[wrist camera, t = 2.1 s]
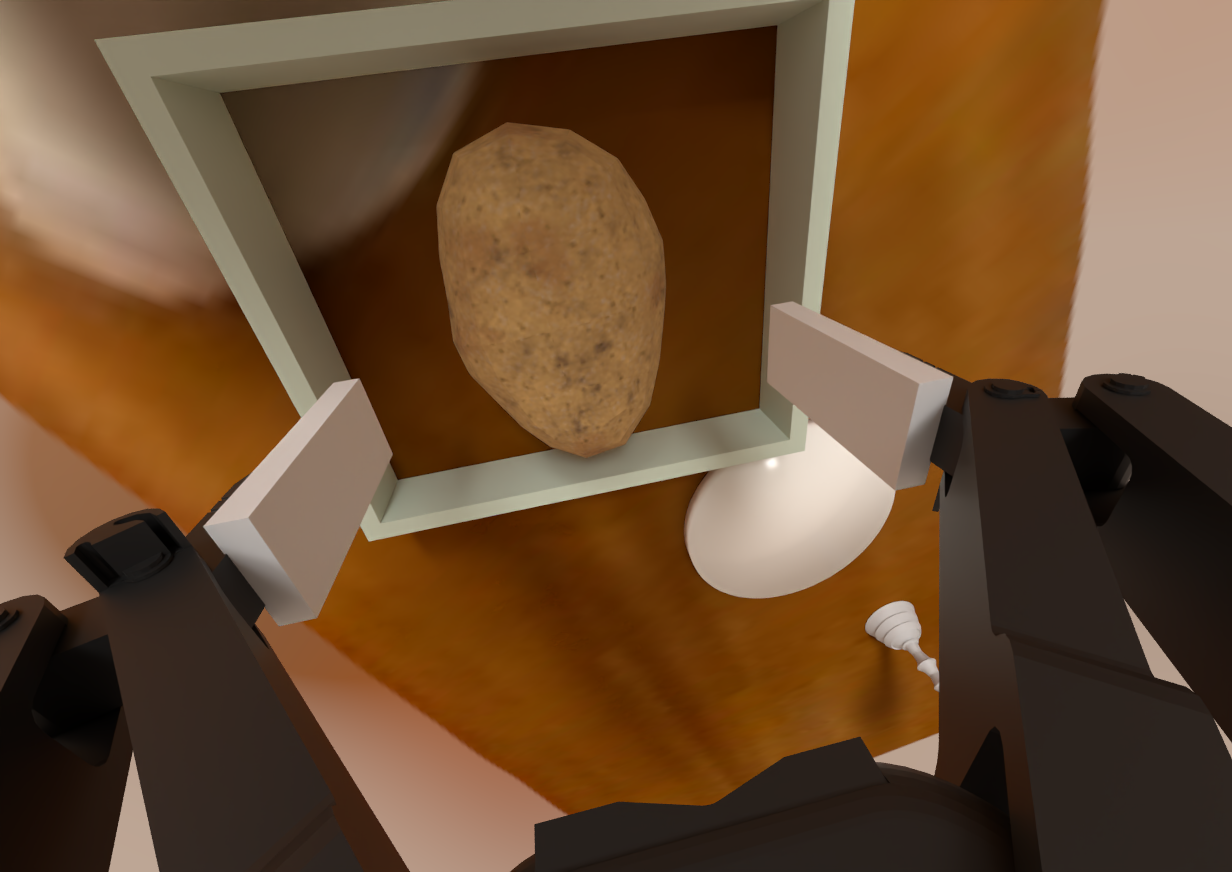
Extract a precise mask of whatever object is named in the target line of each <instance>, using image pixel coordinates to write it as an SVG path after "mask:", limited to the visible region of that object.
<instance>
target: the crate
mask: <svg viewBox="0 0 1232 872" xmlns="http://www.w3.org/2000/svg"><path fill="white" fill-rule="evenodd" d="M854 3H855V0H450V1H441V2H432V3H423V4H413V5H404V6H395V7H386V8H377V9H368V10H359V11H349V12H340V13H331V14H322V15H313V16H304V17H295V18H285V19H276V20H267V21H258V22H249V23H240V24H231V25H222V26H212V27H203V28H194V29H185V30H176V31H167V32H158V33H148V34H139V35H130V36H121V37H112V38H103V39H94V41H95V42H96V44H97V46H98V48H99V50H100V51H101V53H102V55H103V57H104V59H105V61H106V62H107V64H108V66H109V68H110V70H111V72H112V73H113V75H114V77H115V79H116V81H117V82H118V84H119V86H120V88H121V90H122V92H123V93H124V95H125V97H126V99H127V101H128V103H129V104H130V106H131V108H132V110H133V112H134V114H135V115H136V117H137V119H138V121H139V123H140V124H141V126H142V128H143V130H144V132H145V134H146V135H147V137H148V139H149V141H150V143H151V145H152V146H153V148H154V150H155V152H156V154H157V156H158V157H159V159H160V161H161V163H162V165H163V166H164V168H165V170H166V172H167V174H168V176H169V177H170V179H171V181H172V183H173V185H174V187H175V188H176V190H177V192H178V194H179V196H180V198H181V199H182V201H183V203H184V205H185V207H186V208H187V210H188V212H189V214H190V216H191V218H192V219H193V221H194V223H195V225H196V227H197V229H198V230H199V232H200V234H201V236H202V238H203V240H204V241H205V243H206V245H207V247H208V249H209V250H210V252H211V254H212V256H213V258H214V260H215V261H216V263H217V265H218V267H219V269H220V271H221V272H222V274H223V276H224V278H225V280H226V281H227V283H228V285H229V287H230V289H231V291H232V292H233V294H234V296H235V298H236V300H237V302H238V303H239V305H240V307H241V309H242V311H243V313H244V314H245V316H246V318H247V320H248V322H249V323H250V325H251V327H252V329H253V331H254V333H255V334H256V336H257V338H258V340H259V342H260V344H261V345H262V347H263V349H264V351H265V353H266V355H267V356H268V358H269V360H270V362H271V364H272V365H273V367H274V369H275V371H276V373H277V375H278V376H279V378H280V380H281V382H282V384H283V386H284V387H285V389H286V391H287V393H288V395H289V397H290V398H291V400H292V402H293V404H294V406H295V407H296V409H297V411H298V413H299V415H300V417H301V418H302V417H303V416H304V415H305V414H306V412H307V411H308V410H309V409H310V408H311V407H312V406H313V405H314V404H315V403H316V401H317V400H318V399H319V398H320V397H321V396H322V395H323V394H324V393H325V392H326V390H327V389H328V388H329V387H330V386H331V385H332V384H333V383H335V382H341V381H347V380H351V377H350V375H349V373H348V371H347V369H346V367H345V364H344V362H343V360H342V358H341V356H340V353H339V351H338V349H337V347H336V345H335V343H334V340H333V338H332V336H331V334H330V332H329V330H328V327H327V325H326V323H325V321H324V319H323V316H322V314H321V312H320V310H319V308H318V306H317V303H316V301H315V299H314V297H313V295H312V293H311V290H310V288H309V286H308V284H307V282H306V279H305V277H304V275H303V273H302V271H301V269H300V266H299V264H298V262H297V260H296V258H295V256H294V253H293V251H292V249H291V247H290V245H289V242H288V240H287V238H286V236H285V234H284V232H283V229H282V227H281V225H280V223H279V221H278V219H277V216H276V214H275V212H274V210H273V208H272V205H271V203H270V201H269V199H268V197H267V195H266V192H265V190H264V188H263V186H262V184H261V182H260V179H259V177H258V175H257V173H256V171H255V168H254V166H253V164H252V162H251V160H250V158H249V155H248V153H247V151H246V149H245V147H244V145H243V142H242V140H241V138H240V136H239V134H238V131H237V129H236V127H235V125H234V123H233V121H232V118H231V116H230V114H229V112H228V110H227V108H226V105H225V103H224V101H223V99H222V97H221V94H220V93H223V92H232V91H240V90H248V89H256V88H265V87H273V86H281V85H289V84H297V83H306V82H314V81H322V80H330V79H339V78H347V77H355V76H363V75H371V74H380V73H388V72H396V71H404V70H413V69H421V68H429V67H437V66H446V65H454V64H462V63H470V62H478V61H487V60H495V59H503V58H511V57H520V56H528V55H536V54H544V53H552V52H561V51H569V50H577V49H585V48H594V47H602V46H610V45H618V44H626V43H635V42H643V41H651V40H659V39H668V38H676V37H684V36H692V35H701V34H709V33H717V32H725V31H733V30H742V29H750V28H758V27H766V26H775V25H777V45H776V67H775V88H774V109H773V131H772V152H771V173H770V194H769V216H768V237H767V258H766V279H765V301H764V322H763V343H762V364H761V386H760V407H759V409H755V410H750V411H745V412H740V413H735V414H730V415H725V416H720V417H715V418H709V419H704V420H699V421H694V422H689V423H684V424H679V425H674V426H669V427H664V428H659V429H654V430H649V431H644V432H639V433H634V434H631V436H630V438H629V439H628V441H627V442H626V444H625V445H622V446H619V447H616V448H614V449H611V450H608V451H605V452H602V453H599V454H597V455H594V456H591V457H588V458H585V457H582V456H578V455H575V454H572V453H569V452H565V451H562V450H559V449H552V450H547V451H542V452H537V453H532V454H527V455H522V456H517V457H512V458H507V459H502V460H497V461H492V462H487V463H482V464H477V465H471V466H466V467H461V468H456V469H451V470H446V471H441V472H436V473H431V474H426V475H421V476H416V477H411V478H406V479H401V480H397V477H396V475H395V473H394V471H393V469H392V467H391V464H390V462H389V464H388V466H387V468H386V470H385V472H384V474H383V477H382V479H381V481H380V483H379V485H378V487H377V490H376V492H375V494H374V496H373V498H372V500H371V503H370V505H369V507H368V509H367V511H366V513H365V515H364V518H363V520H362V522H361V524H360V526H361V528H362V530H363V532H364V533H365V535H366V537H367V539H368V541H373V540H378V539H383V538H388V537H393V536H397V535H402V534H407V533H412V532H417V531H421V530H426V529H431V528H436V527H441V526H446V525H450V524H455V523H460V522H465V521H470V520H474V519H479V518H484V517H489V516H494V515H498V514H503V513H508V512H513V511H518V510H523V509H527V508H532V507H537V506H542V505H547V504H551V503H556V502H561V501H566V500H571V499H575V498H580V497H585V496H590V495H595V494H600V493H604V492H609V491H614V490H619V489H624V488H628V487H633V486H638V485H643V484H648V483H652V482H657V481H662V480H667V479H672V478H677V477H681V476H686V475H691V474H696V473H701V472H705V471H710V470H715V469H720V468H725V467H729V466H734V465H739V464H744V463H749V462H754V461H758V460H763V459H768V458H773V457H778V456H782V455H787V454H792V453H797V452H802V451H805V443H806V434H807V425H808V416H806V415H805V414H804V413H803V412H802V411H800V410H799V409H798V408H797V407H796V406H795V405H793V404H792V403H791V402H790V401H789V400H788V399H786V398H785V397H784V396H783V395H782V394H780V393H779V392H778V391H777V390H776V389H775V388H773V387H772V386H771V385H770V384H769V383H768V382H767V369H768V348H769V326H770V305H775V304H780V303H786V302H791V301H793V302H795V303H797V304H799V305H801V306H804V307H806V308H808V309H810V310H812V311H814V312H816V313H818V314H820V309H821V300H822V291H823V282H824V273H825V264H826V255H827V246H828V237H829V228H830V219H831V210H832V201H833V192H834V183H835V174H836V165H837V156H838V147H839V138H840V129H841V120H842V111H843V102H844V93H845V84H846V75H847V66H848V57H849V48H850V39H851V30H852V21H853V12H854Z"/></svg>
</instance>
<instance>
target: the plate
mask: <svg viewBox="0 0 1232 872" xmlns="http://www.w3.org/2000/svg"><path fill="white" fill-rule="evenodd" d="M894 496H895V490H894V489H892V488H891V487H890V486H889V485H888V484H886V483H885V482H884V481H883V480H882V479H881V478H879V477H878V476H877V475H876V474H875V473H874V472H872V471H871V470H870V469H869V468H868V467H866V466H865V465H864V464H863V463H862V462H861V461H859V460H858V459H857V458H856V457H855V456H853V455H852V454H851V453H850V452H849V451H848V450H846V449H845V448H844V447H843V446H842V445H841V444H839V443H838V442H837V441H836V440H835V439H833V438H832V437H831V436H830V435H829V434H828V433H826V432H825V431H824V430H823V429H822V428H821V427H819V426H818V425H817V424H816V423H815V422H813V421H812V420H811V419H808V425H807V434H806V443H805V451H802V452H797V453H792V454H787V455H782V456H778V457H773V458H768V459H763V460H758V461H754V462H749V463H744V464H739V465H734V466H729V467H725V468H720V469H715V470H710V471H709V472H708V473H707V475H706V476H705V477H704V478H703V480H702V481H701V483H700V484H699V486H698V487H697V489H696V491H695V493H694V495H693V497H692V499H691V500H690V503H689V506H688V509H687V512H686V517H685V522H684V538H685V545H686V547H687V550H688V553H689V556H690V558H691V560H692V563H693V565H694V567H695V568H696V570H697V572H698V573H699V575H700V576H701V577H702V578H703V579H704V580H705V581H706V582H707V583H708V584H710V585H711V586H712V587H714V588H716V589H718V590H719V591H722V592H724V593H727V594H729V595H734V596H738V597H745V598H769V597H777V596H782V595H787V594H790V593H794V592H797V591H800V590H803V589H806V588H808V587H811V586H813V585H815V584H817V583H819V582H821V581H823V580H825V579H827V578H829V577H830V576H832V575H834V574H835V573H837V572H838V571H840V570H841V569H843V568H844V567H845V566H847V565H848V564H849V563H850V562H852V561H853V560H854V559H855V558H856V557H857V556H859V555H860V554H861V553H862V552H863V551H864V550H865V549H866V548H867V546H868V545H869V544H870V543H871V542H872V541H873V539H874V538H875V537H876V535H877V534H878V533H879V531H880V530H881V528H882V526H883V525H884V523H885V521H886V519H887V517H888V515H889V513H890V510H891V507H892V504H893V501H894Z"/></svg>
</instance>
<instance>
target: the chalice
mask: <svg viewBox="0 0 1232 872" xmlns="http://www.w3.org/2000/svg"><path fill="white" fill-rule="evenodd" d="M865 630H866V632H867V633H868V634H870V635H872V636H874V637H876V639H877V640H879V641H880V642H882V643H884V644H885V645H886V646H888V647H890V648H893V649H897V650H899V649H903V650H908V651H909V652H910V653H911V654H912V655H913V656H914V658H915V659H916V661H917V663H918V668H917V669H918V670H919V671H922V672H925V673H926V674H927V675H928V676H930V677H931V679H932V681H933V683H934V689H935V690H936V691H938V692H939V671H938V669H937V667H936V660H935V659H933V658H929V657H928V656H927V655H926V654H924V653H923V652H922V651H921V649H920V647H919V646H918V642H919V641H918V639H919V638H920V636H921V626H920V624H919V623H918V618H917V615H916V614H915V610H914V607H913V605H912V604H911V603H909V602H906V601H898V602H893V603H890V604H887V605H885V606H883V607H882V608H880V609H878V610H877V611H876V612H874V613H873V614H872V615H871V617H870V618H869V619H868V621H867V623H866V625H865Z"/></svg>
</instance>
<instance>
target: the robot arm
mask: <svg viewBox="0 0 1232 872" xmlns="http://www.w3.org/2000/svg"><path fill="white" fill-rule="evenodd" d="M767 382H768V383H769V384H770V385H771V386H772V387H773V388H775V389H776V390H777V391H778V392H779V393H780V394H782V395H783V396H784V397H785V398H786V399H788V400H789V401H790V402H791V403H792V404H793V405H795V406H796V407H797V408H798V409H799V410H800V411H802V412H803V413H804V414H805V415H806V416H808V417H809V418H810V419H811V420H812V421H813V422H815V423H816V424H817V425H818V426H819V427H821V428H822V429H823V430H824V431H825V432H826V433H828V434H829V435H830V436H831V437H832V438H833V439H835V440H836V441H837V442H838V443H839V444H841V445H842V446H843V447H844V448H845V449H846V450H848V451H849V452H850V453H851V454H852V455H853V456H855V457H856V458H857V459H858V460H859V461H861V462H862V463H863V464H864V465H865V466H866V467H868V468H869V469H870V470H871V471H872V472H874V473H875V474H876V475H877V476H878V477H879V478H881V479H882V480H883V481H884V482H885V483H886V484H888V485H889V486H890V487H891V488H892V489H894V490H900V489H904V488H909V487H913V486H918V485H922V484H925V481H926V478H927V474H928V470H929V466H930V463H931V462H932V463H934V464H935V465H937V466H938V467H939V468H941V469H942V470H944V472H943V475H942V479H941V482H940V486H939V489H938V493H937V496H936V500H935V503H934V507H933V510H932V511H937V512H938V511H939V509H940V567H939V750H938V759H937V765H936V770H935V775H934V776H933V775H931V774H928V773H925V772H922V771H918V770H915V769H911V768H908V767H905V766H898V765H893V764H888V763H881V762H875V761H874V759H873V757H872V756H871V754H870V752H869V751H868V749H867V747H866V746H865V744H864V742H863V741H862V739H861V737H857V738H853V739H850V740H846V741H842V742H839V743H835V744H831V745H827V746H824V747H820V748H816V749H813V750H809V751H805V752H801V753H798V754H794V755H790V756H787V757H784V758H782V759H781V760H779V761H778V762H776V763H775V764H773V765H772V766H770V767H769V768H767V769H766V770H764V771H763V772H761V773H760V774H758V775H757V776H755V777H754V778H752V779H751V780H749V781H748V782H746V783H745V784H743V785H742V786H740V787H739V788H737V789H736V790H734V791H733V792H731V793H730V794H728V795H727V796H725V797H724V798H722V799H721V800H719V801H718V802H716V803H714V804H711V805H706V806H695V805H674V804H653V803H631V802H616V803H612V804H608V805H605V806H601V807H597V808H594V809H590V810H586V811H582V812H579V813H575V814H571V815H568V816H564V817H560V818H557V819H553V820H549V821H545V822H542V823H538V824H535V854H534V855H532V856H531V857H529V858H527V859H526V860H524V861H523V862H521V863H520V864H519V865H518V866H517V867H515V868H514V869H513V870H512V871H511V872H1232V759H1231V756H1230V754H1229V752H1228V750H1227V748H1226V745H1225V743H1224V741H1223V739H1222V736H1221V734H1220V732H1219V730H1218V727H1217V725H1216V723H1215V721H1216V722H1217V724H1218V725H1219V726H1220V727H1221V729H1222V730H1223V731H1224V733H1225V734H1226V735H1227V737H1228V738H1229V739H1230V741H1231V742H1232V427H1230V426H1229V425H1227V424H1225V423H1224V422H1222V421H1221V420H1219V419H1218V418H1216V417H1215V416H1213V415H1211V414H1210V413H1208V412H1206V411H1205V410H1204V409H1202V408H1201V407H1199V406H1197V405H1196V404H1194V403H1192V402H1191V401H1190V400H1188V399H1186V398H1185V397H1183V396H1182V395H1180V394H1178V393H1177V392H1175V391H1174V390H1172V389H1171V388H1169V387H1167V386H1165V385H1163V384H1160V383H1158V382H1155V381H1152V380H1148V379H1145V377H1142V376H1138V375H1131V374H1124V373H1119V374H1097V375H1091V376H1088V377H1085V378H1084V379H1083V381H1082V382H1081V385H1080V387H1079V389H1078V392H1077V394H1076V396H1075V397H1074V398H1048V397H1047V395H1046V394H1045V393H1044V392H1043V391H1042V390H1041V389H1039V388H1037V387H1035V386H1033V385H1030V384H1026V383H1023V382H1019V381H1014V380H1009V379H984V380H977V381H975V382H973V383H971V382H968V381H966V380H964V379H962V378H960V377H958V376H956V375H953V374H951V373H949V372H947V371H945V370H943V369H940V368H935V366H934V365H932V364H930V363H928V362H923V360H921V359H919V358H917V357H915V356H912V355H910V354H908V353H905V352H900V351H897V350H895V349H893V348H891V347H889V346H887V345H884V344H882V343H880V342H878V341H876V340H874V339H872V338H870V337H867V336H865V335H863V334H861V333H859V332H857V331H855V330H853V329H850V328H848V327H846V326H844V325H842V324H840V323H838V322H835V321H833V320H831V319H829V318H827V317H825V316H823V315H821V314H818V313H816V312H814V311H812V310H810V309H808V308H806V307H804V306H801V305H799V304H797V303H795V302H793V301H791V302H786V303H780V304H775V305H770V326H769V348H768V369H767ZM392 455H393V453H392V451H391V449H390V446H389V444H388V442H387V440H386V437H385V435H384V433H383V431H382V428H381V426H380V424H379V421H378V419H377V417H376V415H375V412H374V410H373V408H372V406H371V403H370V401H369V399H368V397H367V394H366V392H365V390H364V387H363V385H362V383H361V381H360V378H358V379H352V380H347V381H341V382H335V383H333V384H332V385H331V386H330V387H329V388H328V389H327V390H326V392H325V393H324V394H323V395H322V396H321V397H320V398H319V399H318V400H317V401H316V403H315V404H314V405H313V406H312V407H311V408H310V409H309V410H308V411H307V412H306V414H305V415H304V416H303V417H302V418H301V419H300V420H299V421H298V422H297V424H296V425H295V426H294V427H293V428H292V429H291V430H290V431H289V432H288V433H287V435H286V436H285V437H284V438H283V439H282V440H281V441H280V442H279V443H278V444H277V446H276V447H275V448H274V449H273V450H272V451H271V452H270V453H269V454H268V455H267V457H266V458H265V459H264V460H263V461H262V462H261V463H260V464H259V465H258V467H257V468H256V469H255V470H254V471H253V472H252V473H250V474H249V475H247V476H246V477H244V478H243V479H242V480H240V481H239V482H237V483H236V484H234V485H233V486H232V487H231V489H230V490H229V491H228V492H227V493H226V494H225V495H224V496H223V497H222V498H221V499H222V501H218V503H217V504H216V505H215V506H214V507H213V508H212V509H211V512H210V513H207V514H206V515H205V517H204V518H203V519H202V520H201V521H200V522H199V523H198V524H197V525H196V526H195V527H194V528H193V529H192V531H191V532H190V533H189V534H188V535H187V536H186V537H185V536H184V535H183V533H182V532H181V531H180V530H179V528H178V527H177V526H176V525H175V523H174V522H173V521H172V520H171V518H170V517H169V516H168V515H167V513H166V512H165V511H163V510H161V509H145V510H141V511H137V512H133V513H129V514H127V515H124V516H122V517H119V518H116V519H114V520H111V521H109V522H107V523H105V524H103V525H101V526H99V527H97V528H95V529H93V530H92V531H90V532H89V533H87V534H86V535H84V536H83V537H81V538H80V539H78V540H77V541H76V542H75V543H74V544H73V545H72V546H71V547H70V548H68V549H67V551H66V553H65V556H64V558H65V560H66V561H67V562H68V563H69V564H70V565H71V566H72V567H73V568H74V569H76V571H77V572H78V573H79V574H80V575H81V576H83V577H84V578H85V579H86V580H87V581H88V582H89V583H90V584H91V585H92V586H93V587H94V588H95V589H96V590H97V591H98V592H99V595H100V596H99V597H97V598H94V599H91V600H89V601H86V602H83V603H81V604H78V605H75V606H73V607H70V608H67V609H65V610H62V611H59V610H58V609H57V608H56V607H55V606H53V605H52V604H51V603H50V602H49V601H48V600H47V599H45V597H42V596H40V595H30V596H22V597H19V598H17V599H13V600H10V601H7V602H4V603H2V604H0V872H108V871H109V867H110V861H111V856H112V852H113V847H114V842H115V837H116V832H117V827H118V821H119V817H120V812H121V807H122V802H123V797H124V792H125V786H126V782H127V776H128V772H129V767H130V761H131V757H132V752H134V757H135V761H136V766H137V771H138V775H139V780H140V784H141V789H142V794H143V798H144V803H145V807H146V812H147V817H148V821H149V826H150V830H151V835H152V839H153V844H154V849H155V854H156V858H157V862H158V867H159V871H160V872H410V871H409V869H408V868H407V866H406V865H405V863H404V861H403V860H402V858H401V857H400V855H399V853H398V852H397V850H396V849H395V847H394V845H393V844H392V842H391V840H390V839H389V837H388V835H387V834H386V832H385V831H384V829H383V827H382V826H381V824H380V823H379V821H378V819H377V818H376V816H375V815H374V813H373V811H372V810H371V808H370V807H369V805H368V803H367V802H366V800H365V798H364V797H363V795H362V793H361V792H360V790H359V789H358V787H357V785H356V784H355V782H354V781H353V779H352V777H351V776H350V774H349V772H348V771H347V769H346V767H345V766H344V764H343V763H342V761H341V760H340V758H339V756H338V754H337V753H336V751H335V750H334V749H333V747H332V745H331V743H330V742H329V740H328V739H327V737H326V735H325V734H324V732H323V730H322V729H321V727H320V725H319V724H318V722H317V721H316V719H315V717H314V716H313V714H312V712H311V711H310V709H309V708H308V706H307V704H306V703H305V701H304V699H303V698H302V696H301V695H300V693H299V691H298V690H297V688H296V687H295V685H294V683H293V682H292V680H291V678H290V677H289V675H288V674H287V672H286V671H285V669H284V667H283V666H282V664H281V662H280V661H279V659H278V658H277V656H276V654H275V653H274V651H273V649H272V648H271V646H270V644H269V643H268V641H267V640H266V638H265V636H264V635H263V633H262V632H261V631H260V630H259V628H258V627H257V626H256V625H255V622H256V621H257V619H258V617H259V615H260V614H261V612H262V610H263V609H264V607H265V609H266V610H267V611H268V612H269V614H270V615H271V616H272V618H273V619H274V620H275V622H276V623H277V624H278V626H282V625H287V624H291V623H296V622H301V621H306V620H310V619H315V618H317V617H318V615H319V613H320V611H321V608H322V606H323V604H324V602H325V600H326V598H327V595H328V593H329V591H330V589H331V587H332V585H333V582H334V580H335V578H336V576H337V574H338V572H339V569H340V567H341V565H342V563H343V561H344V559H345V557H346V554H347V552H348V550H349V548H350V546H351V544H352V541H353V539H354V537H355V535H356V533H357V531H358V528H359V526H360V524H361V522H362V520H363V518H364V515H365V513H366V511H367V509H368V507H369V505H370V503H371V500H372V498H373V496H374V494H375V492H376V490H377V487H378V485H379V483H380V481H381V479H382V477H383V474H384V472H385V470H386V468H387V466H388V464H389V461H390V459H391V457H392ZM1129 479H1130V480H1129ZM1128 481H1129V482H1128ZM1123 598H1124V599H1123ZM1124 600H1125V601H1126V602H1127V604H1128V605H1129V606H1130V608H1131V609H1132V610H1133V612H1134V613H1135V614H1136V616H1137V617H1138V618H1139V620H1140V621H1141V622H1142V624H1143V625H1144V626H1145V628H1146V629H1147V630H1148V632H1149V633H1150V634H1151V636H1152V637H1153V638H1154V640H1155V641H1156V642H1157V644H1158V645H1159V646H1160V648H1161V649H1162V650H1163V652H1164V653H1165V654H1166V656H1167V657H1168V658H1169V660H1170V661H1171V662H1172V664H1173V665H1174V666H1175V667H1176V669H1177V670H1178V671H1179V673H1180V674H1181V676H1182V677H1183V678H1184V680H1185V681H1186V682H1187V684H1188V685H1189V686H1190V688H1191V689H1192V690H1193V692H1192V691H1191V690H1190V689H1188V688H1187V687H1185V686H1182V685H1178V684H1175V683H1171V682H1168V681H1165V680H1161V679H1158V678H1154V676H1153V674H1152V672H1151V670H1150V668H1149V665H1148V663H1147V660H1146V657H1145V655H1144V652H1143V649H1142V647H1141V644H1140V641H1139V639H1138V636H1137V633H1136V631H1135V628H1134V625H1133V623H1132V620H1131V617H1130V615H1129V612H1128V609H1127V607H1126V604H1125V602H1124ZM1213 718H1214V719H1213ZM1214 720H1215V721H1214Z"/></svg>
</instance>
